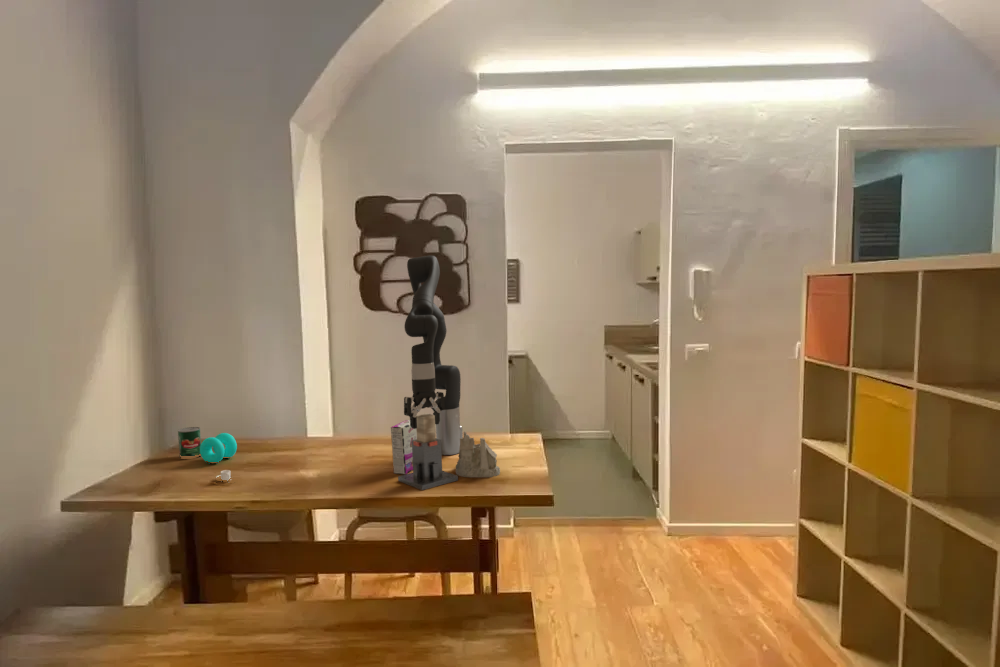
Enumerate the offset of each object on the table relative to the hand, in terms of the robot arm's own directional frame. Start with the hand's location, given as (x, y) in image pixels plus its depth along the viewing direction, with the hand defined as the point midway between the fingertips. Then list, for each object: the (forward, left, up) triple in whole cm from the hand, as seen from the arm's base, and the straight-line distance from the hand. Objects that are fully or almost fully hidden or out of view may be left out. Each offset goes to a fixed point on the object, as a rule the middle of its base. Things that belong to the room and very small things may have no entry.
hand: (425, 426), depth 213 cm
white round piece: (+46, -51, -19) cm, 71 cm away
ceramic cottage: (-19, +3, -18) cm, 26 cm away
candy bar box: (-2, -16, -18) cm, 24 cm away
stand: (0, 0, -18) cm, 18 cm away
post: (0, 0, -17) cm, 17 cm away
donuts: (+41, -79, -18) cm, 91 cm away
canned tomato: (+47, -94, -18) cm, 107 cm away
